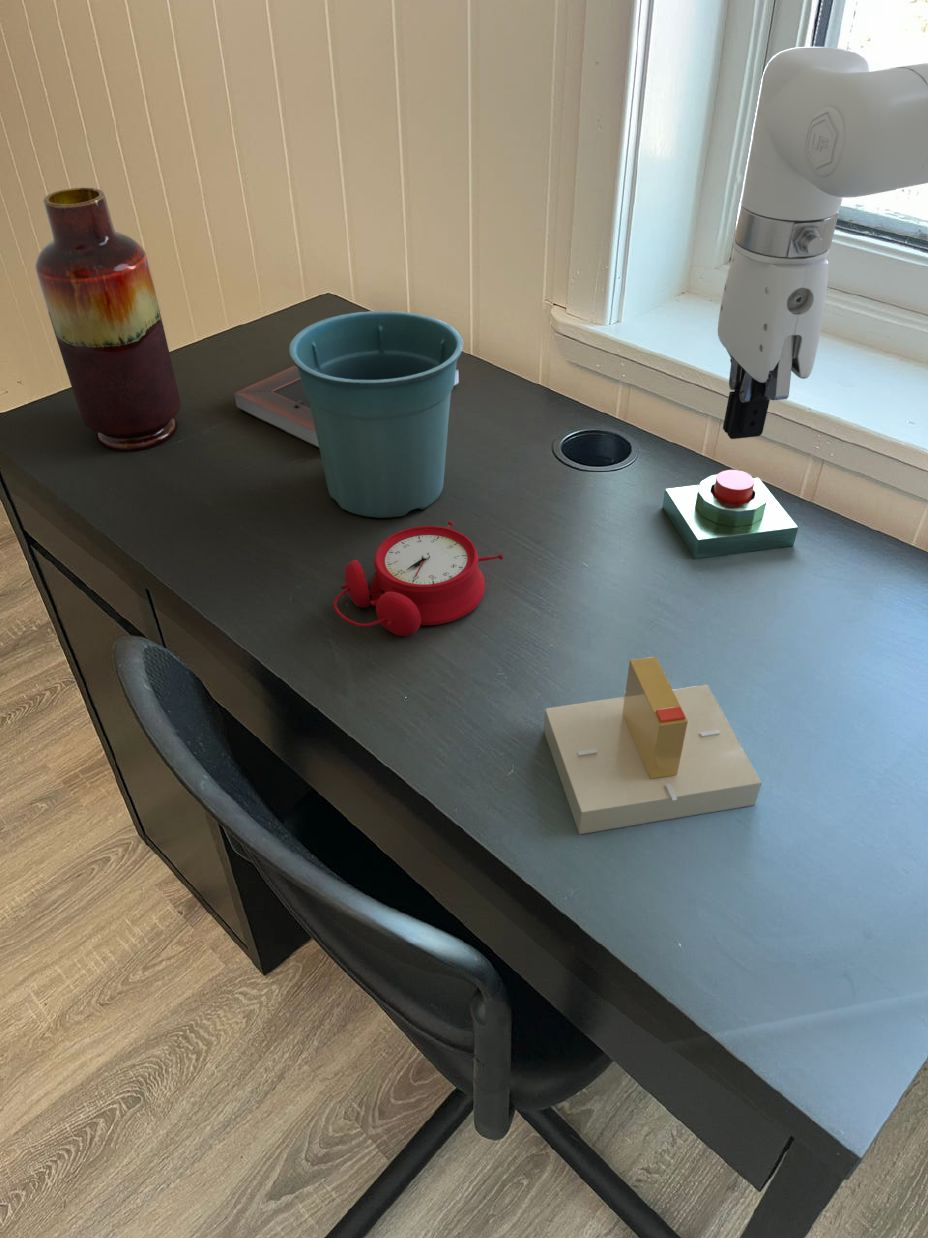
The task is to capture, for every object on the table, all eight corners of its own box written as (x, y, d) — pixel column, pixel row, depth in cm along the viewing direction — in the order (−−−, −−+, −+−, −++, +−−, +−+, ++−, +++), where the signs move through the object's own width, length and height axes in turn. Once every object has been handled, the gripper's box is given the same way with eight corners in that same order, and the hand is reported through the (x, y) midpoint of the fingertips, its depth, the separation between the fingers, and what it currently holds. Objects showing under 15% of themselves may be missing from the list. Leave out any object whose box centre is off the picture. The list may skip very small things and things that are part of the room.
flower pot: (395, 432, 109) (385, 295, 98) (497, 486, 100) (498, 341, 89) (278, 488, 100) (254, 343, 90) (378, 552, 91) (364, 400, 81)
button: (742, 483, 93) (745, 467, 92) (757, 502, 90) (761, 487, 89) (707, 487, 92) (710, 471, 91) (721, 507, 90) (724, 491, 88)
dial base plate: (701, 703, 75) (706, 679, 73) (757, 809, 67) (764, 785, 65) (542, 727, 73) (543, 703, 72) (580, 839, 65) (583, 815, 64)
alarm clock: (518, 555, 84) (385, 596, 75) (506, 614, 87) (377, 660, 78) (443, 507, 90) (311, 539, 81) (434, 564, 93) (306, 601, 84)
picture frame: (366, 350, 126) (237, 410, 113) (365, 332, 124) (233, 390, 112) (459, 386, 117) (330, 455, 105) (458, 367, 116) (327, 435, 103)
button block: (754, 495, 98) (762, 462, 95) (793, 545, 91) (802, 511, 88) (662, 507, 96) (667, 473, 94) (694, 558, 89) (701, 523, 87)
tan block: (622, 713, 71) (629, 657, 67) (647, 709, 71) (656, 653, 67) (650, 779, 66) (659, 722, 62) (677, 775, 66) (688, 718, 62)
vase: (168, 400, 116) (113, 172, 99) (199, 438, 108) (146, 200, 91) (77, 425, 111) (3, 191, 94) (103, 466, 104) (28, 221, 87)
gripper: (875, 260, 70) (817, 471, 82) (787, 196, 81) (747, 391, 93) (780, 268, 69) (735, 481, 81) (704, 203, 80) (674, 399, 92)
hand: (741, 432), depth 87 cm, fingers closed
